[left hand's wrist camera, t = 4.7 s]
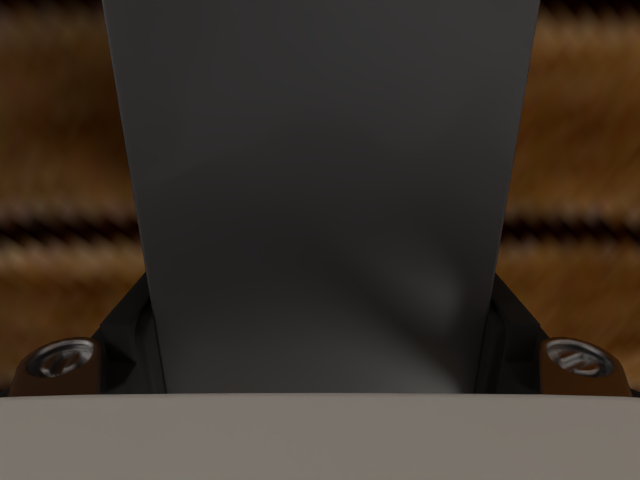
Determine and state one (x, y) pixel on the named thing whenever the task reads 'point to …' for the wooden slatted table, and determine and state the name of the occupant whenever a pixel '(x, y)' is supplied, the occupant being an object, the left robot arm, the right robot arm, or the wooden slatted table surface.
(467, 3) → the cabinet
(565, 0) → the wooden slatted table surface
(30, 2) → the wooden slatted table surface
